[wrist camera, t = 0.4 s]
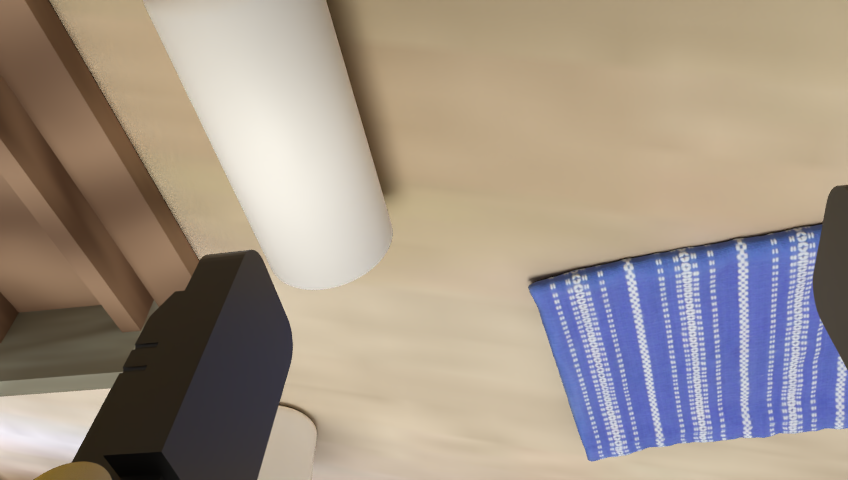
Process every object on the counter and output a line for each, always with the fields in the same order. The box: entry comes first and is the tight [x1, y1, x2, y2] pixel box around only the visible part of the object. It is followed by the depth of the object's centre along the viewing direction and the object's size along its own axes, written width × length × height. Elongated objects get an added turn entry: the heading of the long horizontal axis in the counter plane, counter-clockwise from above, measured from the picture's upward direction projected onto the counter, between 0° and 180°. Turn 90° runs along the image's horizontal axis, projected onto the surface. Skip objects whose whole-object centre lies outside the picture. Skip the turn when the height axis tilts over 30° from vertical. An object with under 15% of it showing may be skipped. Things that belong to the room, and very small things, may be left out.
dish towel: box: [528, 224, 848, 461], centre depth 37 cm, size 17×24×3 cm
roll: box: [143, 0, 393, 290], centre depth 26 cm, size 13×6×6 cm, turn 10°
